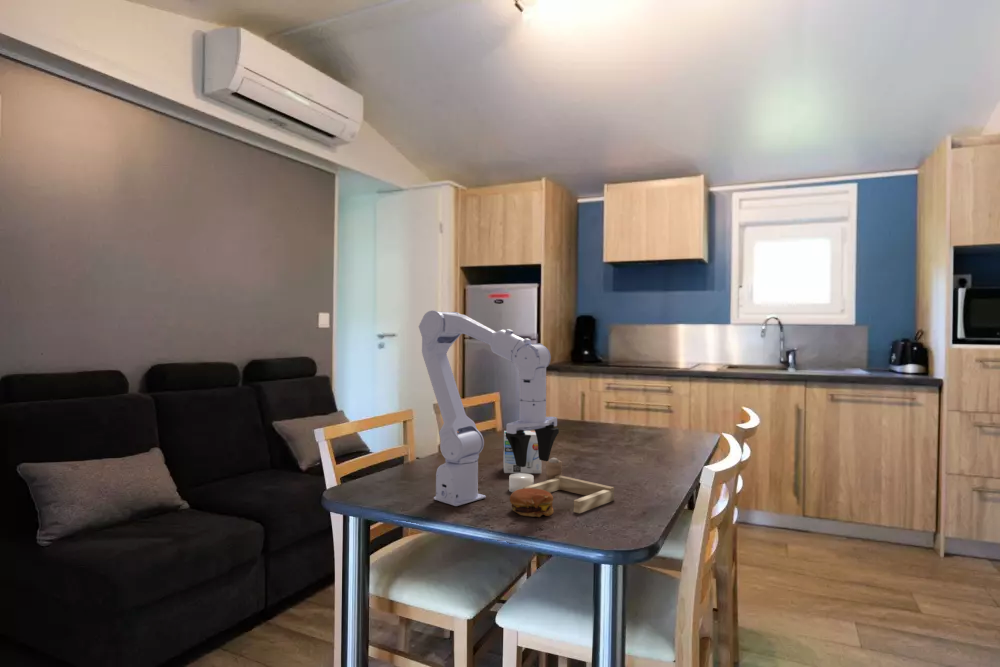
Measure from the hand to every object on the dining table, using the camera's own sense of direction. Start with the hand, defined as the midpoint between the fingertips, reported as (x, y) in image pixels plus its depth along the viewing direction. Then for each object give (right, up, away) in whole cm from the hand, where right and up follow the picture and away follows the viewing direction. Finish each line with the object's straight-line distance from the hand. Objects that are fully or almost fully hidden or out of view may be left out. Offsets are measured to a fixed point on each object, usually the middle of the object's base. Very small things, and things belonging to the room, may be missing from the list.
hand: (532, 463), depth 121 cm
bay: (+9, -10, +9) cm, 16 cm away
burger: (0, -11, 0) cm, 11 cm away
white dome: (-2, -11, +17) cm, 20 cm away
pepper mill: (+7, -11, +21) cm, 25 cm away
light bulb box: (-1, -11, +37) cm, 38 cm away
